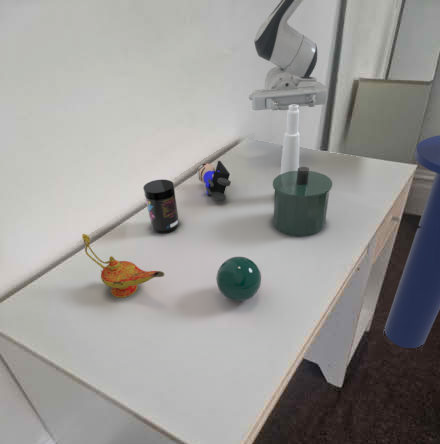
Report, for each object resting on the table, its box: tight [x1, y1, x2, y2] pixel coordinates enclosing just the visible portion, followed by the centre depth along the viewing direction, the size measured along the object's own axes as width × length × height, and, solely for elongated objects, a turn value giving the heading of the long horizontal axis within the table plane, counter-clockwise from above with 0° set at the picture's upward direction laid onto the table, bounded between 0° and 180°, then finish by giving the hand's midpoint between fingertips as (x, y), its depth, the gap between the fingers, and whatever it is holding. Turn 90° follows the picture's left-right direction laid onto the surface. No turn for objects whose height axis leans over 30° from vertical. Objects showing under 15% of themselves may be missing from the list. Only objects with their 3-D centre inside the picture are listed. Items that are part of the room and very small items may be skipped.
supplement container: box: [142, 179, 180, 234], centre depth 85 cm, size 7×7×10 cm
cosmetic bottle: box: [279, 104, 301, 175], centre depth 89 cm, size 6×6×22 cm
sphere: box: [215, 256, 262, 302], centre depth 66 cm, size 8×8×8 cm
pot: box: [273, 189, 330, 237], centre depth 83 cm, size 12×12×10 cm
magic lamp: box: [81, 233, 165, 299], centre depth 68 cm, size 7×18×11 cm, turn 63°
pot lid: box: [272, 166, 333, 198], centre depth 79 cm, size 13×13×4 cm
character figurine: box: [196, 160, 232, 202], centre depth 98 cm, size 8×7×15 cm
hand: (293, 105), depth 95 cm, fingers open, 8 cm apart
